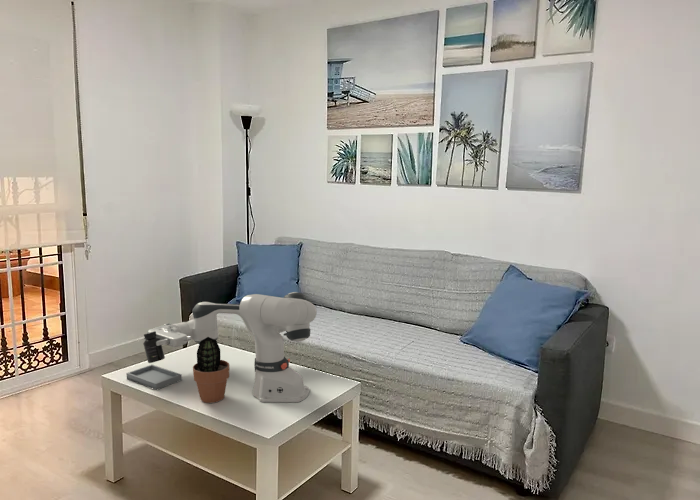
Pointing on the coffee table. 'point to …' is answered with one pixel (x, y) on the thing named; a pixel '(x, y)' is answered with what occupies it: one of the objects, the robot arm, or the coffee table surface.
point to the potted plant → (210, 371)
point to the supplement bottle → (153, 348)
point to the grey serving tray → (154, 376)
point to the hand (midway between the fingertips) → (150, 341)
